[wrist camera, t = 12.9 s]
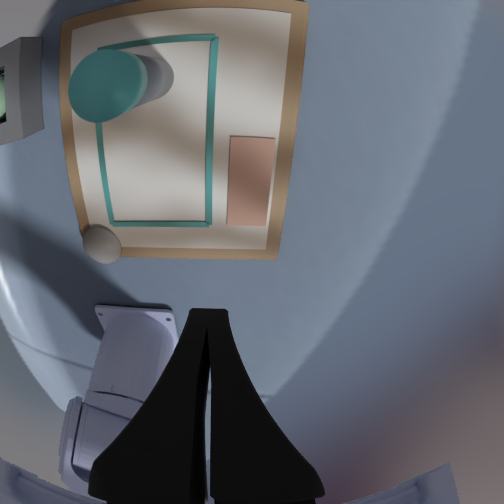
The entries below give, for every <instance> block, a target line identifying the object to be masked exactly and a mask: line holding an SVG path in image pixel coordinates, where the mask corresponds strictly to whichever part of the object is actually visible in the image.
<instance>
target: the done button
mask: <svg viewBox="0 0 504 504" xmlns="http://www.w3.org/2000/svg"><path fill="white" fill-rule="evenodd" d="M5 117H6V108H5V87H4V75H0V119H2V118H5Z"/></svg>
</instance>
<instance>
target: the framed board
mask: <svg viewBox="0 0 504 504" xmlns="http://www.w3.org/2000/svg"><path fill="white" fill-rule="evenodd" d="M308 15H309V3H307V2H302V1H296V0H140V1H135V2H129V3H124V4H120V5H115V6H111V7H107V8H103V9H99V10H96V11H92V12H89V13H85V14H82V15H79V16H76V17H73V18H70V19H67V20H64V21H62V25H61V36H60V53H59V94H60V112H61V124H62V134H63V142H64V150H65V157H66V163H67V169H68V175H69V181H70V186H71V191H72V195H73V200H74V205H75V209H76V213H77V217H78V221H79V225H80V229H81V232H82V236H83V246H84V249H85V251H86V252H87V254H88V256H90V257H91V258H92V259H94V260H95V261H97V262H100V263H104V264H109V263H113V262H114V261H116V260H117V259H118V257H148V258H195V259H251V260H277V259H278V253H279V246H280V240H281V233H282V227H283V220H284V214H285V207H286V200H287V193H288V186H289V179H290V172H291V165H292V157H293V150H294V142H295V135H296V127H297V119H298V110H299V102H300V93H301V85H302V76H303V66H304V57H305V47H306V37H307V26H308ZM103 49H113V50H120V51H126V52H130V53H133V54H137V55H143V56H148V57H153V58H158V59H162V60H164V61H166V62H167V63H168V64H169V65H170V66H171V67H172V70H173V73H174V81H173V84H172V87H171V88H170V90H169V91H168V92H167V93H166V94H165V95H164V96H162V97H161V98H158V99H156V100H153V101H150V102H148V103H145V104H143V105H140V106H138V107H135V108H133V109H131V110H130V111H128V112H127V113H124V114H122V115H120V116H118V117H116V118H114V119H111V120H109V121H106V122H101V123H93V122H88V121H86V120H84V119H82V118H80V117H79V116H78V115H77V114H76V113H75V112H74V110H73V109H72V107H71V104H70V101H69V97H68V86H69V81H70V78H71V75H72V73H73V71H74V69H75V68H76V66H77V65H78V64H79V63H80V62H81V61H82V60H83V59H84V58H85V57H86V56H88V55H89V54H91V53H93V52H95V51H98V50H103Z"/></svg>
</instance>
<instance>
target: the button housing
mask: <svg viewBox="0 0 504 504" xmlns="http://www.w3.org/2000/svg"><path fill="white" fill-rule="evenodd" d="M41 53H42V37H20V38H18V39H16V40H14V41H12V42H10V43H8V44H7V45H5V46H3V47H1V48H0V74H2V73H4V87H5V108H6V121H4V122H1V123H0V145H3V144H7V143H10V142H13V141H17V140H20V139H24V138H26V137H28V136H30V135H32V134H34V133H36V132H38V131H40V130H42V129H44V123H43V111H42V95H41Z"/></svg>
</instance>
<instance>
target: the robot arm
mask: <svg viewBox="0 0 504 504" xmlns="http://www.w3.org/2000/svg"><path fill="white" fill-rule="evenodd" d="M95 312H96V314H97V316H98V319H99V321H100V323H101V325H102V327H103V329H104V331H105V332H104V335H103V338H102V341H101V344H100V348H99V351H98V354H97V358H96V361H95V365H94V368H93V372H92V376H91V379H90V383H89V387H88V390H87V391H86V395H85V399H84V402H82V399H83V398H81V397H79V396H76V397H75V398H73V399H71V400H70V401H69V403H68V406H67V410H66V413H65V418H64V422H63V427H62V432H61V439H60V445H59V456H60V460H59V470H58V471H59V473H60V474H61V480H62V481H63V482H64V484H65V485H66V486H67V487H68V488H69V489H70V490H71V491H69V490H66V489H64V488H61V487H59V486H56V485H54V484H51V483H49V482H47V481H45V480H43V479H40V478H38V476H37V475H35V474H33V473H30V472H28V471H26V470H25V469H22V468H21V467H18V466H16V465H14V464H11V463H9V462H7V461H5V460H3V459H2V458H0V504H205V502H207V501H208V491H207V475H206V452H205V411H206V400H207V391H208V381H209V372H210V369H211V442H210V496H211V497H212V498H214V501H215V504H316V503H315V498H319V497H323V496H324V495H325V490H324V487H323V484H322V482H321V480H320V478H319V476H318V474H317V472H316V470H315V469H314V468H313V467H312V466H311V465H310V464H309V463H308V461H307V460H306V459H305V458H304V457H303V456H302V455H301V454H300V453H299V452H298V450H297V449H296V448H295V447H294V446H293V445H292V443H291V442H290V441H289V440H288V438H287V437H286V436H285V434H284V433H283V432H282V431H281V429H280V428H279V426H278V425H277V423H276V422H275V421H274V419H273V418H272V416H271V415H270V413H269V412H268V410H267V409H266V407H265V405H264V404H263V402H262V400H261V399H260V397H259V395H258V394H257V392H256V390H255V388H254V386H253V384H252V382H251V380H250V378H249V376H248V374H247V372H246V370H245V367H244V365H243V363H242V360H241V358H240V355H239V353H238V350H237V347H236V345H235V342H234V338H233V335H232V332H231V328H230V323H229V317H228V311H227V310H226V309H204V308H192V309H191V310H190V311H189V315H188V318H187V321H186V324H185V326H184V329H183V331H182V334H181V336H180V339H179V338H178V333H177V328H176V323H175V318H174V313H173V312H172V311H171V310H168V309H149V308H133V307H119V306H106V305H96V306H95ZM343 504H460V502H459V497H458V493H457V488H456V484H455V480H454V476H453V472H452V469H451V465H450V463H447V464H444V465H442V466H440V467H438V468H436V469H434V470H432V471H429V472H427V473H423V474H421V475H418V476H416V477H414V478H411V479H409V480H407V481H404V482H402V483H400V484H398V486H395V487H393V488H390V489H388V490H385V491H382V492H379V493H377V494H374V495H370V496H367V497H364V498H361V499H358V500H355V501H351V502H347V503H343Z"/></svg>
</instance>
